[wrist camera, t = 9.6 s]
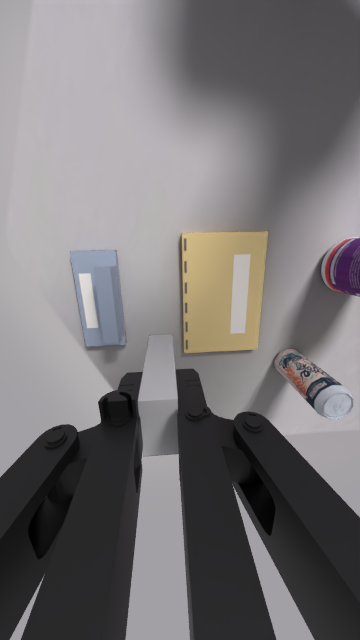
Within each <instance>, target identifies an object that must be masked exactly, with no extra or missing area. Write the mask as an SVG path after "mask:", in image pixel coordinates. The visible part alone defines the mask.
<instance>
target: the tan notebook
mask: <svg viewBox="0 0 360 640" xmlns="http://www.w3.org/2000/svg"><path fill="white" fill-rule="evenodd" d="M181 235H182V285H183V335H184V353H197V352H216V351H235V350H254V349H257V347H258V336H259V325H260V314H261V303H262V292H263V282H264V271H265V260H266V249H267V238H268V231H259V232H209V233H182V234H181Z"/></svg>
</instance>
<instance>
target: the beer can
mask: <svg viewBox="0 0 360 640" xmlns="http://www.w3.org/2000/svg"><path fill="white" fill-rule="evenodd" d="M275 368H276V370H277V371H278V372H279V373H280V374H281V375H282V376H283V377H284V378H285V379H286V380H287V381H288V382H289V383H290V384H291V385H292V386H293V387H294V388H295V389H296V390H297V391H298V392H299V394H300V395H301V396H302V397H303V398H304V399H305V400H306V401H307V402H308V403H309V404H310V405H311V406H312V407H313V408H314V409H315V410H316V412H317V413H318V414H319V415H321V416H324V417H326V418H329V419H340V418H342V417H344V416H346V415H348V414H349V412H350V411H351V409H352V408H353V403H354V399H353V398H352V395H351V393H350V391H349V390H348V389H347V388H346V387H345V386H343V385H341V384H340V383H339V382H337V381H336V380H335V379H333V378H332V377H331V376H329V375H328V374H327V373H325V372H324V371H323V370H321V369H320V368H319V367H317V366H316V365H315V364H313V363H312V362H311V361H309V360H308V359H307V358H305V357H304V356H303V355H301V354H300V353H299V352H298V351H296V350H294V349H287V350H284V351H282V352H280V353H279V354H278V356H277V357H276V359H275Z"/></svg>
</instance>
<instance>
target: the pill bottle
mask: <svg viewBox="0 0 360 640" xmlns="http://www.w3.org/2000/svg"><path fill="white" fill-rule="evenodd" d="M321 273H322V278H323V280H324V282H325V284H326V285H327V286H328V287H329V288H330V289H332V290H334V291H337V292H341V293H346V294H350V295H355V296H360V237H351V238H347V239H344V240H342V241H340V242H338V243H336V244H335V245H334V246H333V247H332V248H331V249H330V250H329V251H328V252H327V254H326V255H325V257H324V260H323V263H322V268H321Z"/></svg>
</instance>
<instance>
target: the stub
mask: <svg viewBox="0 0 360 640" xmlns="http://www.w3.org/2000/svg"><path fill="white" fill-rule="evenodd" d="M70 256H71V262H72V268H73V274H74V280H75V286H76V292H77V297H78V303H79V309H80V315H81V321H82V327H83V333H84V339H85V345H86V347H89V346H109V345H125V344H126V334H125V325H124V315H123V306H122V297H121V287H120V278H119V269H118V259H117V250H102V251H70Z"/></svg>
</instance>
